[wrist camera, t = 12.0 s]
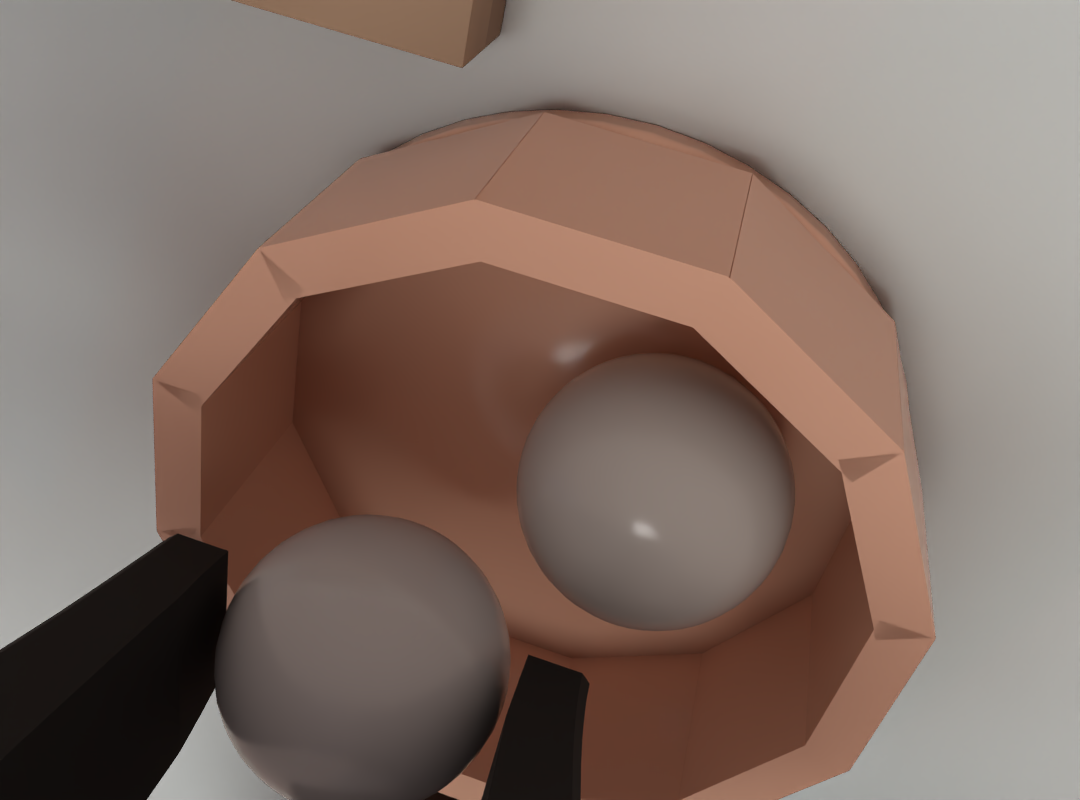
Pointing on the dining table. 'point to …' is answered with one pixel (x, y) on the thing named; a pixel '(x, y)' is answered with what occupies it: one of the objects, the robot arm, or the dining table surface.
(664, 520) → the pebble
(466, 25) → the tray
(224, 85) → the dining table surface
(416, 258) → the bowl
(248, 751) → the pebble
